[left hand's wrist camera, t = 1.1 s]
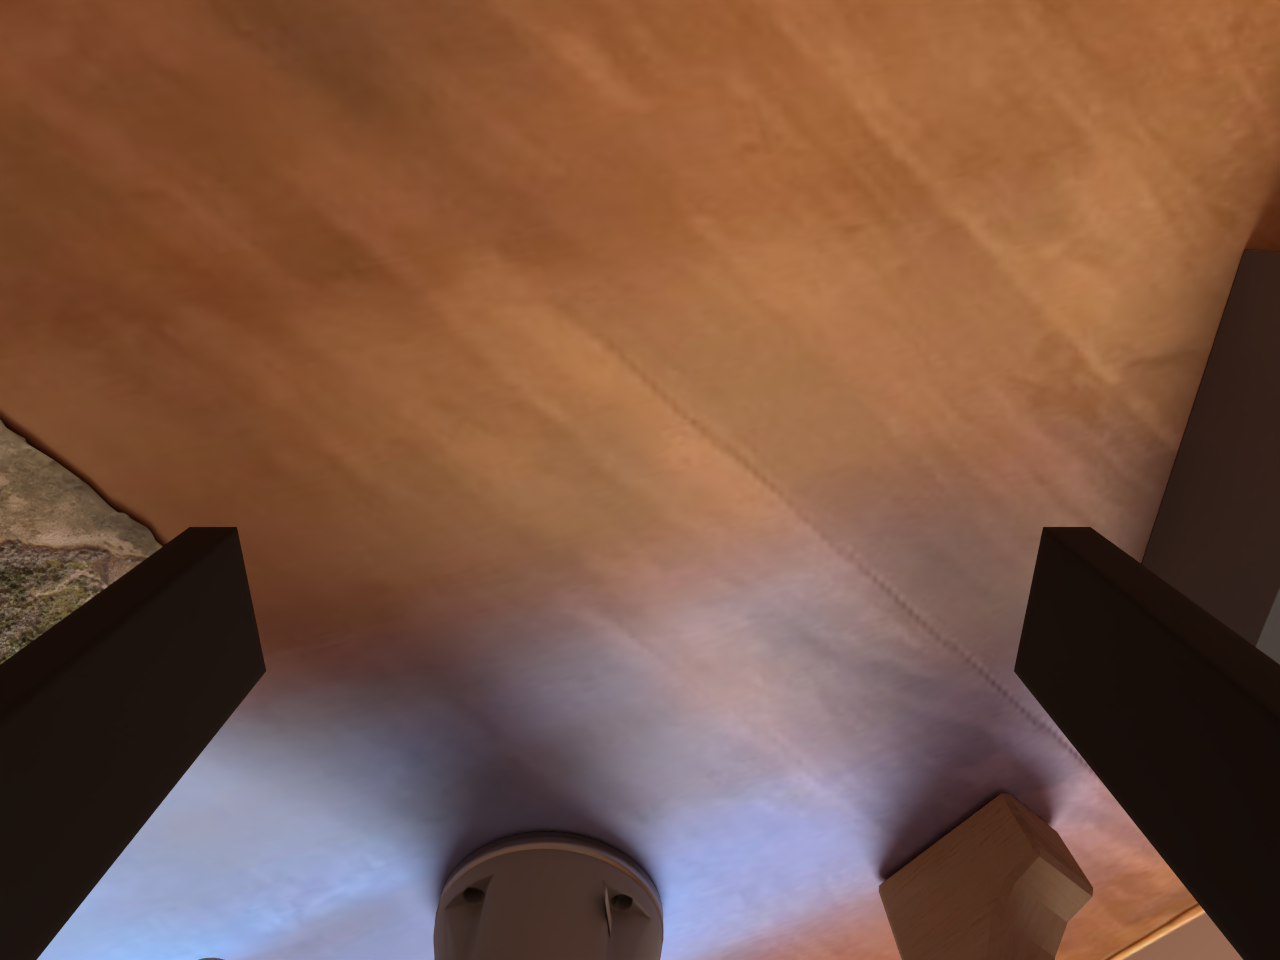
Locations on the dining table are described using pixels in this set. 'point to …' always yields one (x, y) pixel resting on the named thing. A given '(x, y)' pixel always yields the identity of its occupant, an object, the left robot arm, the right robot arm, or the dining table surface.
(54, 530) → the slab
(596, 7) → the dining table surface
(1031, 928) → the decorative block
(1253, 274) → the bar
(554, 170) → the dining table surface
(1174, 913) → the dining table surface
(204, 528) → the left robot arm
